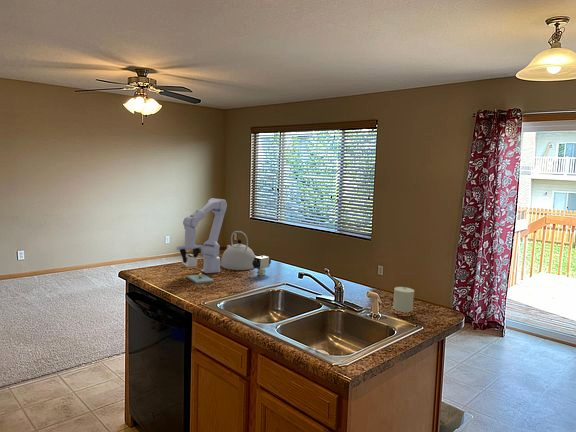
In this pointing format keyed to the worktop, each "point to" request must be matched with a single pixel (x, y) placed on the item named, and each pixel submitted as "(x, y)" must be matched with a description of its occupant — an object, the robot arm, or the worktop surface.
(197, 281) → the board
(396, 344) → the worktop surface
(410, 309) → the can
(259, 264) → the pneumatic valve
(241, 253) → the kettle
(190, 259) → the block
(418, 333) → the worktop surface
